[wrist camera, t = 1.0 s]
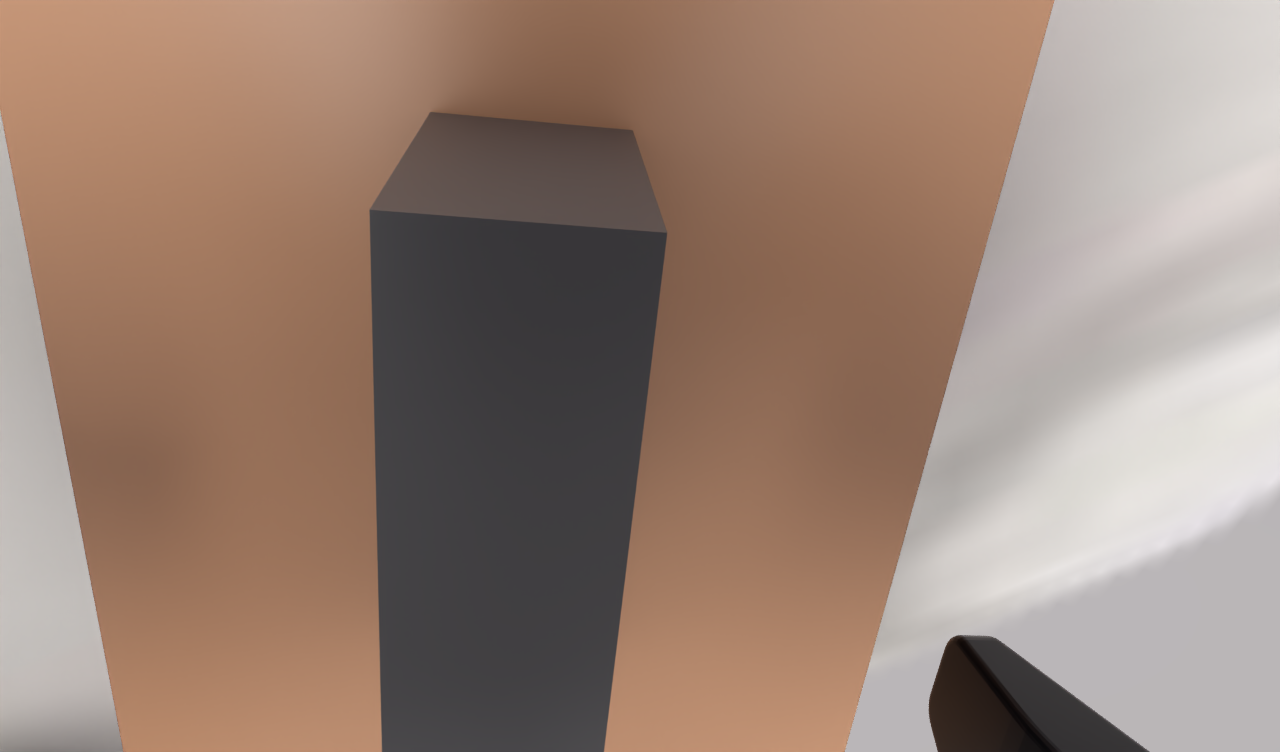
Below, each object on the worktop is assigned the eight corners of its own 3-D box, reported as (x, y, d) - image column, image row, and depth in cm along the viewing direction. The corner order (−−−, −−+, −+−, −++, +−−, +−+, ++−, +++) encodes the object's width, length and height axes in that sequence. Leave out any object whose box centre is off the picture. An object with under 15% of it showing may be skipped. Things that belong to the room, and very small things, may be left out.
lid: (808, 685, 19) (914, 1013, 13) (175, 671, 17) (-5, 1033, 12) (1000, -100, 12) (1350, -105, 7) (42, -219, 11) (-470, -346, 6)
